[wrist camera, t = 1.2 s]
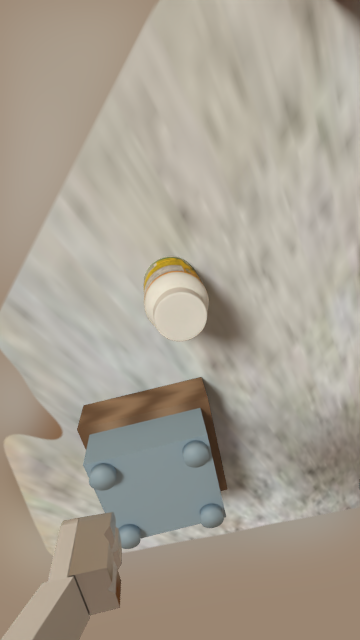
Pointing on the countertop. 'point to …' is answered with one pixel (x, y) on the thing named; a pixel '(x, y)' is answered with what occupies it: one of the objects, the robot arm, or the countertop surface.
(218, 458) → the base brick
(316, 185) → the countertop surface
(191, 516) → the top brick
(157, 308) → the supplement bottle
